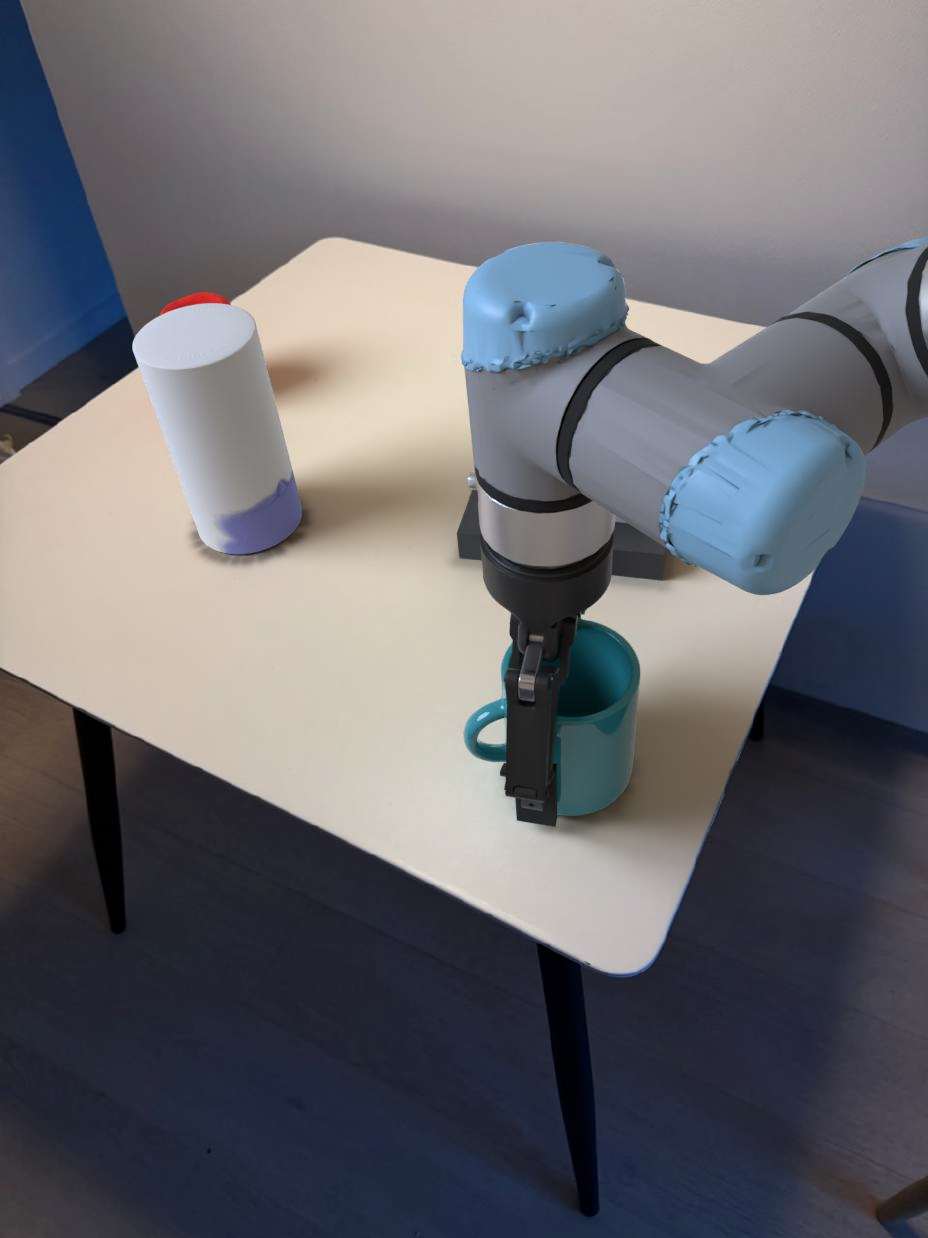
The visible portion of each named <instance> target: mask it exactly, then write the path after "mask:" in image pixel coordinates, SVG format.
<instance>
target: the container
mask: <svg viewBox="0 0 928 1238" xmlns="http://www.w3.org/2000/svg"><path fill="white" fill-rule="evenodd" d="M131 346H132V347H131V348H132V352H133V355H134V357H135V360H136V364H137V366H138V369H139V371H140V374H141V378H142V380H143V384H144V385H145V388H146V391H147V394H148V397H149V399H150V402H151V406H152V409H153V410H154V411H153V412H154V413H155V416H156V419H157V422H158V424H159V427H160V430H161V433H162V436H163V438H164V441H165V444H166V447H167V449H168V453H169V455H170V458H171V461H172V464H173V466H174V469H175V472H176V475H177V477H178V481H179V484H180V486H181V489H182V491H183V494H184V497H185V500H186V503H187V505H188V508H189V511H190V513H191V516H192V519H193V522H194V524H195V528H196V530H197V533H198V535H199V538H200V540H201V541H202V542H203V543H204V544H205V545H206V546H207V547H208V548H210V549H212V550H214V551H217V552H220V553H224V554H229V555H247V554H253V553H259V552H262V551H264V550H268V549H270V548H273V547H274V546H276V545H278V544H280V543H282V542H283V541H285V540H286V539H287V538H288V537H290V536H291V535H292V534H293V533H294V532H295V530H296V529H298V527H299V525H300V523H301V520H302V518H303V506H302V501H301V498H300V494H299V490H298V486H297V483H296V482H297V481H296V478H295V474H294V470H293V465H292V462H291V457H290V454H289V449H288V446H287V442H286V438H285V433H284V431H283V426H282V422H281V418H280V414H279V411H278V410H279V409H278V407H277V406H278V405H277V403H276V398H275V395H274V390H273V386H272V382H271V378H270V373H269V371H268V366H267V362H266V359H265V355H264V351H263V347H262V342H261V338H260V335H259V331H258V326H257V323H256V320H255V318H254V316H252V314H251V313H249V311H247V310H245V309H243V308H242V307H239V306H235V305H232V304H231V305H228V304H219V303H206V304H197V305H191V306H186V307H182V308H178V309H175V310H172V311H170V312H167V313H165V314H163V315H161V316H156V317H155V318H153V319H151V320H150V321H148V323H146V324H145V325H143V326H142V327H141V329H140V330H139V331H138V332H137V334H136V335H135V336H134V338H133V341H132V345H131Z"/></svg>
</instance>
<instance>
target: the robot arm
mask: <svg viewBox="0 0 928 1238" xmlns="http://www.w3.org/2000/svg"><path fill="white" fill-rule="evenodd" d="M464 287H465V288H464V291H463V295H462V296H463V297H462V351H461V352H460V360H461V365H463V368H464V378H465V387H466V397H467V398H466V399H467V406H468V416H469V427H470V438H471V448H472V459H473V460H472V461H473V466H474V471H470V472H469V474H467V478H466V481H465V483H466V487H467V488H468V489H469V490H471V491H472V490H477V491H478V512H479V524H480V529H481V533H480V546H481V558H482V560H481V566H482V567H481V569H482V579H483V582H484V585H485V589H486V590H487V592H488V594H489V595H490V596H491V598H492V599H493V600H494V601H495V602H496V603H497V604H498V605H500V606H501V607H502V608H503V609H505V610H506V611H508V613H510V618H509V637H510V638H511V640H512V642H513V645H512V660H511V668H508V669H507V671H506V673H505V675H504V682H505V690H506V699H507V730H506V762H502V763H503V764H502V766H501V768H500V770H499V776H500V777H502V778H505V783H504V788H503V790H504V795H505V797H507V798H514V799H515V814H516V815H515V816H516V822H517V821H518V822H523V823H529V824H536V825H541V826H547V827H552V828H556V826H557V821H558V815H557V764H554V763H553V758H554V746H555V735H556V721H557V712H558V700H559V688H560V686H562V685H564V683H565V682H566V680H567V677H568V674H569V668H570V657H571V645H572V644H573V642H574V640H575V638H576V635H577V627H578V619H582V616H584V615H585V614H586V611H587V610H588V609H589V608H591V607H592V606H593V605H595V604H596V603H597V602H598V601H600V599H602V597H603V596H604V595H605V593H606V592H607V590H608V588H609V587H610V583H611V580H612V576H613V575H612V561H613V540H614V535H613V530H614V527H615V519H616V516H617V517H619V518H620V519H622V520H624V521H625V522H627V523H628V524H630V525H631V526H633V527H634V528H636V529H638V530H639V531H641V532H642V533H644V534H645V535H647V536H648V537H650V538H652V539H653V540H655V541H656V542H658V543H659V544H661V545H662V546H664V547H666V548H667V551H668V550H669V551H670V553H671V555H672V556H674V557H676V558H677V559H679V560H680V561H682V562H684V563H686V565H689V566H693V567H695V568H696V567H698V568H701V569H703V570H704V571H706V572H708V573H711V574H712V575H714V576H716V577H717V578H719V579H721V580H724V581H725V582H727V583H728V584H730V585H733V586H735V587H736V588H738V589H739V590H741V591H744V592H747V593H748V594H752V595H757V596H771V595H776V594H779V593H782V592H785V591H787V590H790V589H792V588H793V587H795V586H796V585H798V584H799V583H801V582H802V581H804V580H805V579H806V578H807V577H808V576H810V575H811V574H812V573H813V572H814V571H815V570H816V569H817V568H818V566H819V565H820V563H821V561H822V560H823V558H824V556H825V555H826V554H827V552H828V551H829V550H831V549H832V548H834V547H835V546H836V545H837V543H839V540H840V539H841V538H842V536H843V534H844V533H845V531H846V529H847V527H848V526H849V524H850V523H851V520H852V518H853V516H854V515H855V512H856V510H857V508H858V505H859V503H860V499H861V497H862V494H863V490H864V489H865V483H866V476H867V461H866V456H867V455H868V454H869V453H871V452H873V451H874V450H875V449H876V448H877V447H879V446H880V445H882V444H883V443H884V442H886V441H887V440H888V439H889V438H891V437H892V436H894V435H895V434H896V433H898V432H899V431H900V430H901V429H902V428H904V427H906V426H908V425H910V424H912V423H915V422H917V421H919V420H922V419H925V418H928V237H923V238H922V237H921V238H916V239H912V240H909V241H907V242H904V243H902V244H900V245H897V246H895V247H893V248H889V249H887V250H885V251H882V252H881V253H878V254H875V255H874V256H873V257H871V258H869V259H867V260H865V261H862V262H861V263H859V264H858V265H856V266H854V267H853V268H852V269H850V270H849V271H848V273H847V274H845V276H844V277H843V278H841V279H839V280H838V281H837V282H835V283H834V284H832V285H831V286H829V287H828V288H826V289H824V290H822V291H821V292H820V293H818V294H817V295H816V296H814V297H813V298H811V299H809V300H808V301H806V302H805V303H804V304H802V305H800V306H798V307H797V308H795V309H794V310H793V311H792V312H789V313H788V314H787V315H785V316H782V317H780V318H779V319H777V320H775V321H774V322H773V323H771V324H769V325H768V326H767V327H765V328H763V329H761V330H760V331H758V332H757V333H755V334H754V335H752V336H750V337H749V338H747V339H745V340H744V341H742V342H741V343H739V344H737V345H736V346H734V347H733V348H731V349H730V350H728V351H727V352H724V353H723V354H722V355H720V356H718V357H717V358H715V359H714V360H712V361H710V362H708V363H702V362H699V361H696V360H695V359H692V358H691V357H688V356H686V355H684V354H682V353H680V352H677V351H675V350H673V349H671V348H669V347H667V346H665V345H662V344H661V343H658V342H656V341H654V340H653V339H651V338H649V337H648V336H647V337H646V336H645V335H643V334H641V333H638V332H636V331H633V330H632V329H630V328H628V325H627V324H626V321H627V317H628V316H629V313H628V312H629V311H630V306H629V305H628V303H627V300H626V282H625V278H624V276H623V273H621V271H620V270H619V269H618V268H617V267H616V266H615V264H614V262H613V261H612V259H611V258H610V256H608V255H606V254H604V253H603V252H601V251H599V250H597V249H594V248H593V247H592V248H591V247H589V246H586V245H582V244H578V243H570V242H562V241H544V242H533V243H528V244H523V245H519V246H515V247H511V248H508V249H506V250H505V251H503V252H502V253H500V254H498V255H496V256H494V257H490V258H488V259H487V260H485V261H484V262H483V263H481V264H480V265H479V266H478V267H476V269H475V270H474V271H473V273H472V274H471V275H470V276H469V278H468V280H467V282H466V284H465V285H464ZM523 654H524V655H525V656H524V660H523ZM558 658H560V662H559V667H554V666H546V665H542V661H546V662H553V661H555V660H557V659H558Z"/></svg>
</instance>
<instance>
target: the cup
mask: <svg viewBox="0 0 928 1238" xmlns="http://www.w3.org/2000/svg"><path fill="white" fill-rule="evenodd" d="M512 645H513V641H512V642H511V643H510V645H508V648H507V649H506V651H505V653H504V655H503V658H502V661H501V666H500V681H501V697H500V698H499V699H497V700H493V701H491V702H489V703H487V704H485V705H483V706H481V707H480V708H478V709H477V710H475V711H474V712H473V713H472V714H471V715H470V716H469V717H468V719H467V720H466V722H465V724H464V728H463V733H462V734H463V736H462V738H463V743H464V745H465V748H466V750H467V751H468V752H469V753H470V754H471V755H472V756H473V757H475V758H476V759H478V760H481V761H484V762H489V763H506V730H507V699H506V690H505V682H504V675H505V673H506V671H507V669H508V668H511V660H512ZM524 656H525V655H524V654H523V660H524ZM559 662H560V658H558V659H557V660H555V661H553V662H546V661H542V665H546V666H554V667H559ZM640 686H641V664H640V661H639V657H638V655H637V653H636V651H635V649H634V647H633V646H632V645H631V643H630V642H629V641H628V640H627V639H626V638H625V637H624V636H622V634H620V633H619V632H617V631H616V630H614V629H613V628H612V627H609V626H607V625H605V624H603V623H600V622H597V621H593V620H589V619H583V618H581V619H578V627H577V635H576V638H575V640H574V642H573V644H572V645H571V657H570V668H569V674H568V677H567V680H566V682H565V683H564V685H562V686H560V688H559V700H558V712H557V721H556V735H555V746H554V758H553V763H554V764H557V816H564V817H577V816H585V815H589V814H593V813H596V812H599V811H601V810H603V809H605V808H607V807H608V806H610V805H612V803H614V802H615V801H616V800H618V798H619V797H620V796H621V795H622V794H623V792H625V790H626V788H627V787H628V785H629V784H630V783H629V782H630V781H631V777H632V774H633V766H634V757H635V747H636V746H635V745H636V744H635V743H636V731H637V721H638V710H639V708H638V707H639V697H640ZM502 719H504V743H498V744H497V743H487V742H485V741H482V740H480V739H479V735H480V733H481V732H482V731H483V730H484V729H485V728H486V727H487V726H489V725H490V724H492V723H495V722H497V721H499V720H502Z"/></svg>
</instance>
